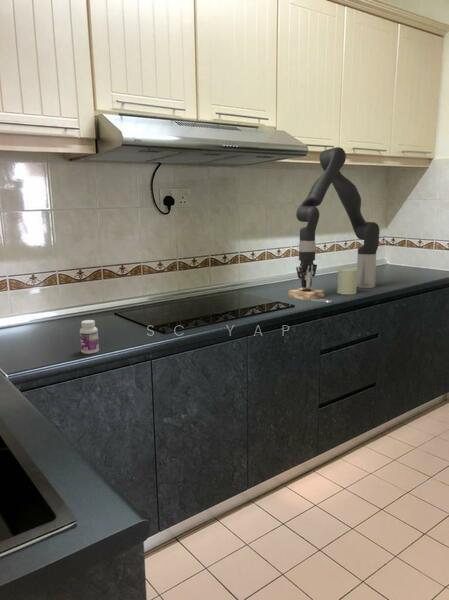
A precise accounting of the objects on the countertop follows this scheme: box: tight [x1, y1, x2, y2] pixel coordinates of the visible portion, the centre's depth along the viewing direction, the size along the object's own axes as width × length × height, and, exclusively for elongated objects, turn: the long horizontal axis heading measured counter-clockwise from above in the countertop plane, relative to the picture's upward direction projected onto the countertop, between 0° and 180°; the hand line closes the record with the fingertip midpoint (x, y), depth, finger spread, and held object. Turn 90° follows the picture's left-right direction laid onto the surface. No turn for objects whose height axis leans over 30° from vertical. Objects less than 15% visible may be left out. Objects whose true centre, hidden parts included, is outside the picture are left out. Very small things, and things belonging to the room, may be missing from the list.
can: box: [336, 267, 357, 296], centre depth 235 cm, size 9×9×12 cm
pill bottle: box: [79, 319, 100, 355], centre depth 149 cm, size 5×5×10 cm
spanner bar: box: [310, 298, 333, 304], centre depth 216 cm, size 11×3×1 cm, turn 45°
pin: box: [303, 271, 311, 292], centre depth 226 cm, size 4×4×11 cm
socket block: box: [287, 287, 325, 301], centre depth 227 cm, size 12×12×3 cm
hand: (306, 286), depth 227 cm, fingers closed on pin, 3 cm apart
